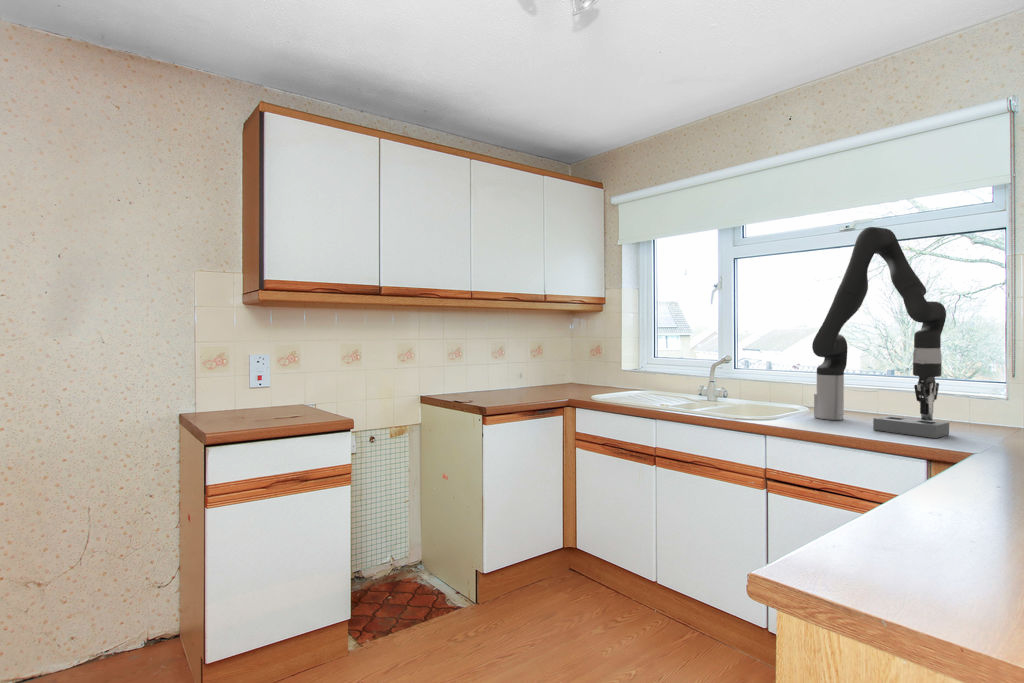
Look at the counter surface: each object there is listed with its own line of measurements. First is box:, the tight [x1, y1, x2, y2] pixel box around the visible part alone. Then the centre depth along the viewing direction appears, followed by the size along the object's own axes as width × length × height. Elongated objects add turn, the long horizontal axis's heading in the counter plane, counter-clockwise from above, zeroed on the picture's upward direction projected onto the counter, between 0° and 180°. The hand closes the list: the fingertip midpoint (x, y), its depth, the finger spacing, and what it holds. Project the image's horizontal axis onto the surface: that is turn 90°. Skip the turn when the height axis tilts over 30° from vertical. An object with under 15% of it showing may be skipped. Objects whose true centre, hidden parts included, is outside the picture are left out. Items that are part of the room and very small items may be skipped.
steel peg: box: [920, 393, 934, 421], centre depth 179 cm, size 3×3×9 cm
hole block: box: [872, 414, 950, 439], centre depth 183 cm, size 18×11×4 cm, turn 34°
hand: (926, 413), depth 179 cm, fingers closed on steel peg, 3 cm apart
